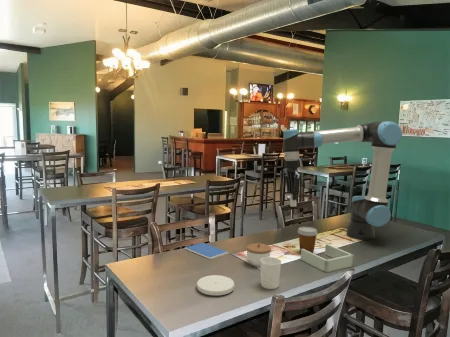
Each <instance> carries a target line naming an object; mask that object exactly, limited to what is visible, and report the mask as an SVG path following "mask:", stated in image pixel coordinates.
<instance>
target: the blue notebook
mask: <svg viewBox="0 0 450 337" xmlns="http://www.w3.org/2000/svg"><path fill="white" fill-rule="evenodd" d="M184 250H186V251H188V252H191V253H193V254H196V255H199V256H201V257H204V258H206V259H208V260H212V259H216V258H219V257H222V256H225V255H228V254H229V251H227V250H224V249H223V248H222V249H221V248H219V247H217V246H216V247H215V246H213V245H211V244H207V243H205V242H199V243H196V244H191V245H190V246H185V247H184Z"/></svg>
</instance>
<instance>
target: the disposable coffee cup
mask: <svg viewBox="0 0 450 337" xmlns="http://www.w3.org/2000/svg"><path fill="white" fill-rule="evenodd" d="M297 234H298V241H299V242H298V245H299V254H301V249H305V250H307V251H309V252H311V253H313V254H314V252H315V246H316V239H317V235H318V229H317V228H315V227H313V226H311V227H310V226H300V227H298V230H297Z"/></svg>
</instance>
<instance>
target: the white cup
mask: <svg viewBox="0 0 450 337" xmlns="http://www.w3.org/2000/svg"><path fill="white" fill-rule="evenodd" d="M281 267H282V260H281V259H279V258H277V257H273V256H270V257H264V258H262V259H261V260H260V270H259V271H260V285H261V287H262V288H263V289H266V290H267V289H268V290H274V289H275V290H277V288H279V286H280V277H281V276H280V275H281Z"/></svg>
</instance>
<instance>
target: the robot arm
mask: <svg viewBox="0 0 450 337" xmlns="http://www.w3.org/2000/svg"><path fill="white" fill-rule="evenodd" d="M282 135H283V138H282V140H283V158H284V163H283V164H284V168H285V169H286V173H284V174H283V175H284V178H285V184H286V191H287V192H288V193H289V205H290V207H297V194H299V193H300V192H299V191H300V182H301V181H300V180H301V176H302V174H299V170H298V168H300V149H304V148H305V149H307V148H319V147H322V145H325V144H337V143H346V142H347V143H349V142H358V143H371V148H372V149H373V155H372V162H371V163H372V164H371V171H370V177H369V186H368V192H367V195H354V196H352V198H351V203H350V204H351V208H350V222H349V225H348V226H347V229H346V235H347V236H348V237H349V238H352V239H355V240H357V239H358V240H362V241H363V240H365V241H367V240H368V241H369V240H374V239H375V237H376V233H375V228H374V227H383V226H385V225H386V224H387V223H388V222H389V221H390V219H391V217H392V214H391V211H390V209H389V207H388V206H389V200H388V199H387V190H388V181H389V176H390V168H391V160H392V154H393V151H395V150H396V148H397V144H399V142H400V141H401V140H402V137H403V131H402V128H401V127H400V126H399V124H398V123H396V122H394V121H390V120H388V121H387V120H386V121H385V120H383V121H373V122H366V123H363V124H357V125H356V126H352V127H351V126H350V127H342V128H332V129H331V128H330V129H321V130H320V129H319V130H312V131H311V130H310V131H299V130H298V128H297V129H296V128H294V129H285V130H284V131H283V134H282Z"/></svg>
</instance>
